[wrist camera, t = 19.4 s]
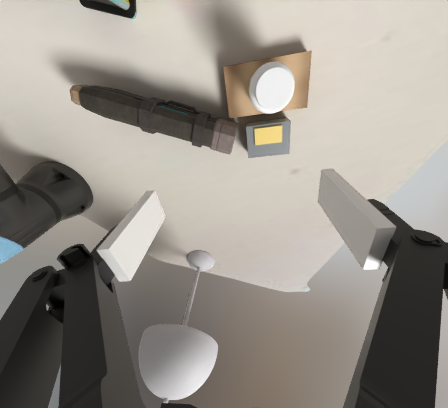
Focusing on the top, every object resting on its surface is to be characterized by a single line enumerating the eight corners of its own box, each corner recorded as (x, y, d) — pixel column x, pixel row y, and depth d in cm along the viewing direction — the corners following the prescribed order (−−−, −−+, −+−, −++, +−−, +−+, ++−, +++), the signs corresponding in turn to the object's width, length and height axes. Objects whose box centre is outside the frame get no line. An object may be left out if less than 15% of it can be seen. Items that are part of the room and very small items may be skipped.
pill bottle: (272, 114, 35) (281, 125, 25) (241, 98, 34) (240, 104, 24) (292, 77, 31) (311, 74, 22) (259, 58, 30) (265, 47, 21)
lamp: (209, 282, 68) (184, 418, 41) (167, 262, 64) (108, 397, 37) (237, 258, 60) (230, 408, 32) (191, 232, 56) (138, 379, 28)
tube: (104, 68, 38) (245, 113, 36) (112, 103, 43) (237, 143, 41) (57, 80, 30) (232, 137, 29) (73, 121, 35) (224, 171, 34)
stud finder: (248, 151, 42) (248, 158, 38) (245, 123, 38) (245, 127, 35) (285, 147, 40) (289, 154, 37) (286, 117, 37) (291, 121, 33)
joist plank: (230, 116, 38) (229, 118, 36) (224, 67, 34) (223, 66, 31) (303, 106, 36) (307, 107, 34) (307, 52, 31) (311, 50, 29)
